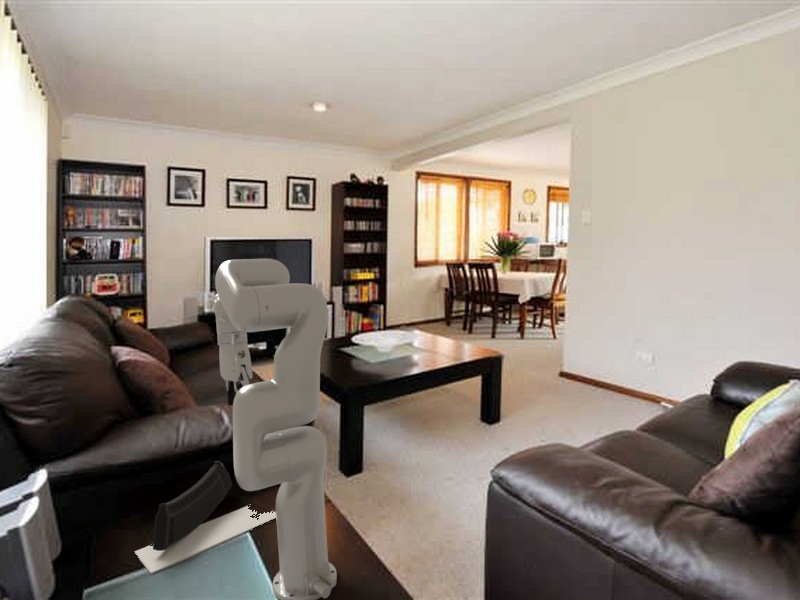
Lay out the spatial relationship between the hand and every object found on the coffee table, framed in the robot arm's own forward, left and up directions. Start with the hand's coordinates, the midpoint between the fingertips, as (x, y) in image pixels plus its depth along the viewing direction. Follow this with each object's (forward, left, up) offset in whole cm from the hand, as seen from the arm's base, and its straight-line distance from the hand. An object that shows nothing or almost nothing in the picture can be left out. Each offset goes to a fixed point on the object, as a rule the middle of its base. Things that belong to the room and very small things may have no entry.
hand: (237, 404), depth 131 cm
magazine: (-1, +13, -27) cm, 30 cm away
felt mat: (-9, +13, -27) cm, 31 cm away
